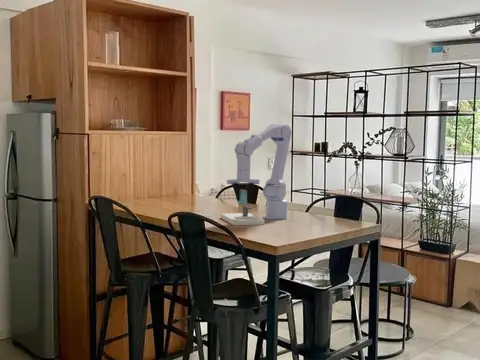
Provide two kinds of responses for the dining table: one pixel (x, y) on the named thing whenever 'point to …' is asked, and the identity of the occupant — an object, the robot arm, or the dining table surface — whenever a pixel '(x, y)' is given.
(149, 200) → the dining table surface
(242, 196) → the cylinder
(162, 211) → the dining table surface
